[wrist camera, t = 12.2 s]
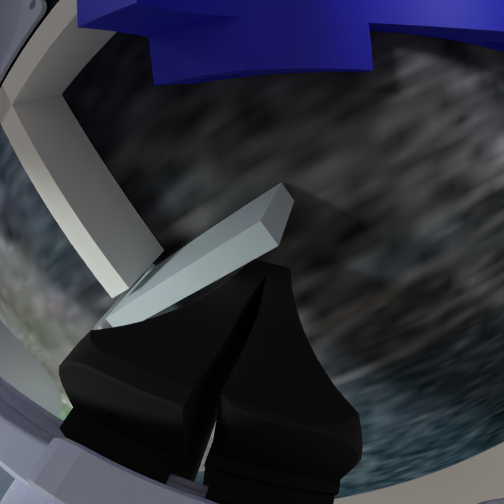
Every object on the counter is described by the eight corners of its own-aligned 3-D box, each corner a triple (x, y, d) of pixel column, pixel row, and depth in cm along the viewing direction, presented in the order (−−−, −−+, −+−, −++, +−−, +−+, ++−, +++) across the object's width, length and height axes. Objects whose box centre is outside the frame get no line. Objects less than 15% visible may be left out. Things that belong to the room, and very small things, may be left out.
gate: (136, 277, 15) (89, 329, 12) (281, 179, 11) (256, 224, 8) (148, 291, 15) (104, 344, 12) (295, 200, 11) (277, 252, 8)
